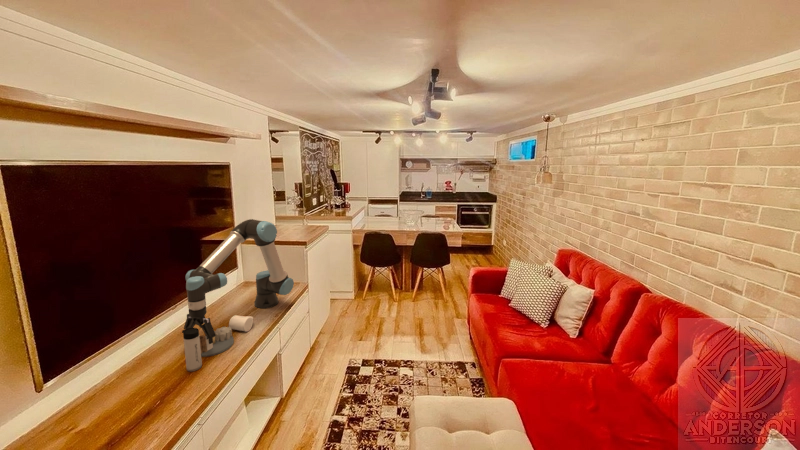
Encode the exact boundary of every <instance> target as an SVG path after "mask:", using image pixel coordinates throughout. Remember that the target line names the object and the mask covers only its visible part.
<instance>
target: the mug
mask: <svg viewBox="0 0 800 450" xmlns="http://www.w3.org/2000/svg"><path fill="white" fill-rule="evenodd" d="M253 323H254V317H253V316H251V315H250V316H249V315H247V316H243V315H237V314H236V315H235V314H234V315H233V316H232V317H230V319H229V322H228V327H231V329H232V331H233V330H234V331H240V332H246V333H247V332H249V331H250V330H251V329H252V326H253Z"/></svg>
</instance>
